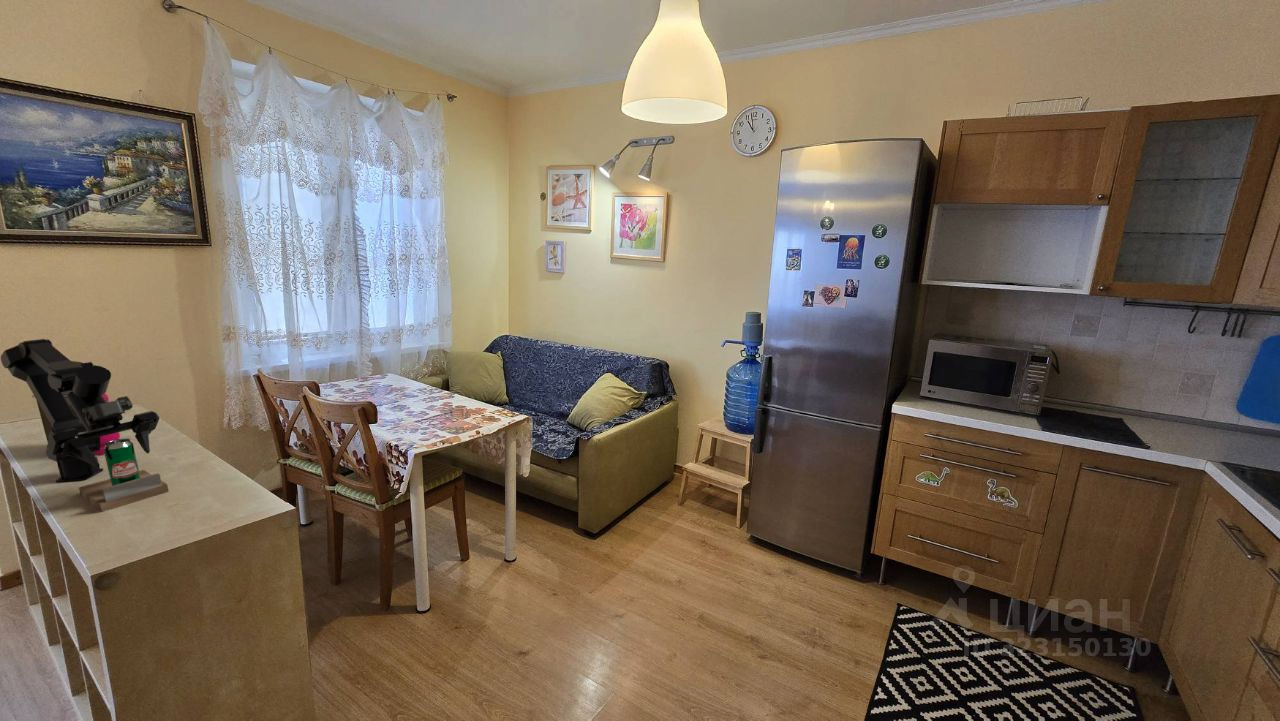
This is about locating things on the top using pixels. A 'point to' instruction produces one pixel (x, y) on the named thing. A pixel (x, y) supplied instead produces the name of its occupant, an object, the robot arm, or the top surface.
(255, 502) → the top surface
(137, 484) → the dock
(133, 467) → the soda can
